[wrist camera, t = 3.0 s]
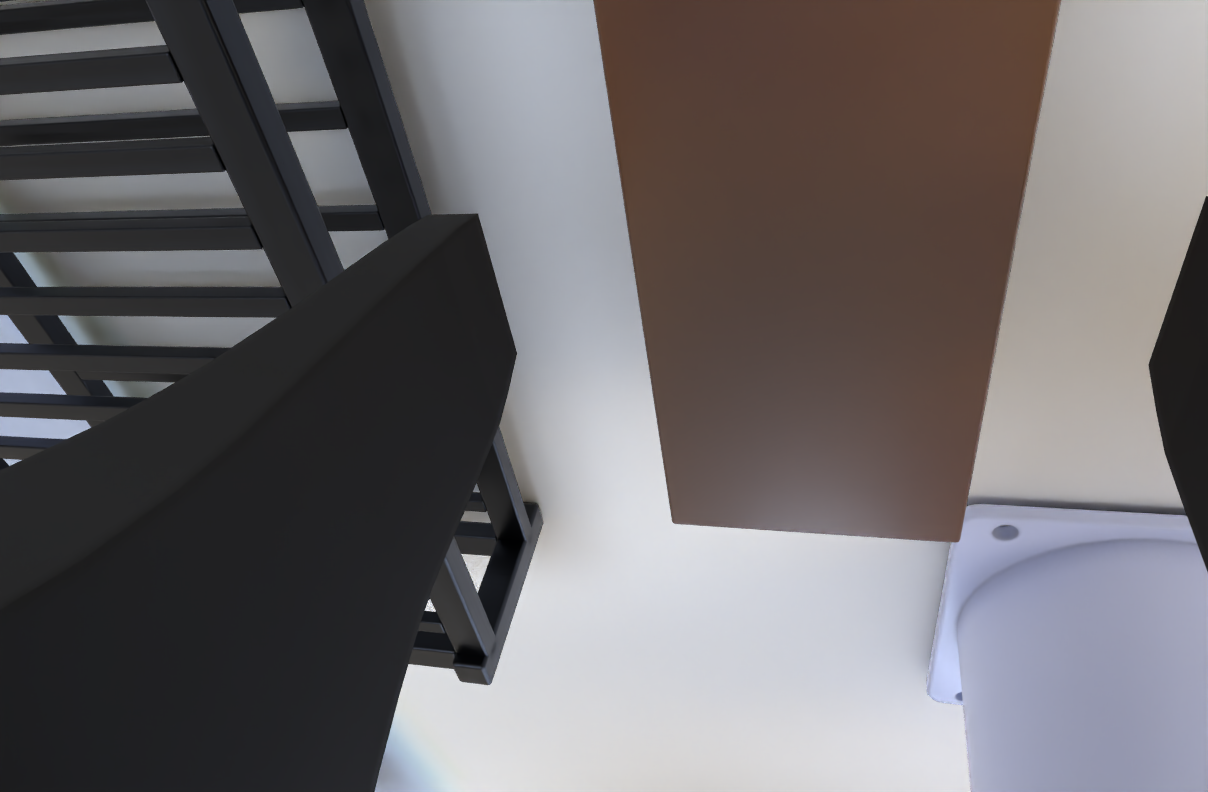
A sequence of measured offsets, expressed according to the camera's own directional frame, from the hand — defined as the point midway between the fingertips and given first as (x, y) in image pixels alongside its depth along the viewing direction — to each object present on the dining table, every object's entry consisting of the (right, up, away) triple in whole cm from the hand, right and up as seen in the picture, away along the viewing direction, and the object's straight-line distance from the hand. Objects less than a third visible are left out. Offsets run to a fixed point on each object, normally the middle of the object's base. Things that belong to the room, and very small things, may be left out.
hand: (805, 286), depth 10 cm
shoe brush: (+1, +4, +4) cm, 6 cm away
